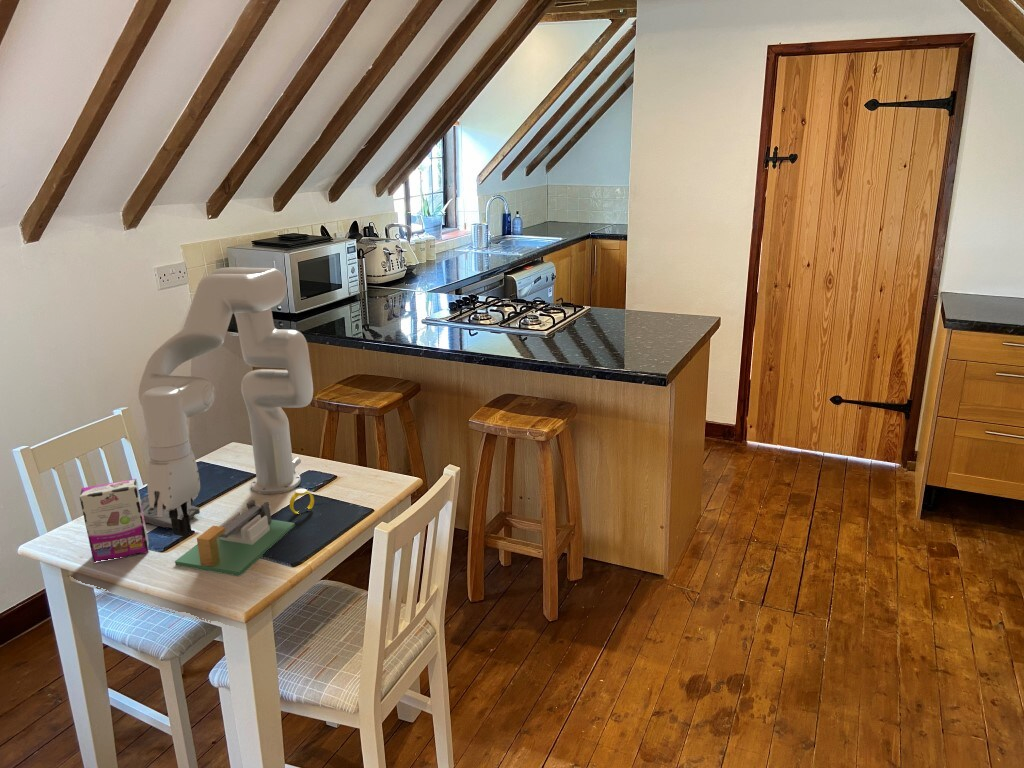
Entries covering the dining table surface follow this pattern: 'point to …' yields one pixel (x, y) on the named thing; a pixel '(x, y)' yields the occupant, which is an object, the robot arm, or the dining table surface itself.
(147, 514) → the graphics card
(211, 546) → the block
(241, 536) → the board
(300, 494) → the watch
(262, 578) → the dining table surface
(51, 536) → the dining table surface
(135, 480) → the candy bar box
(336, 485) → the dining table surface
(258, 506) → the grey long bar
